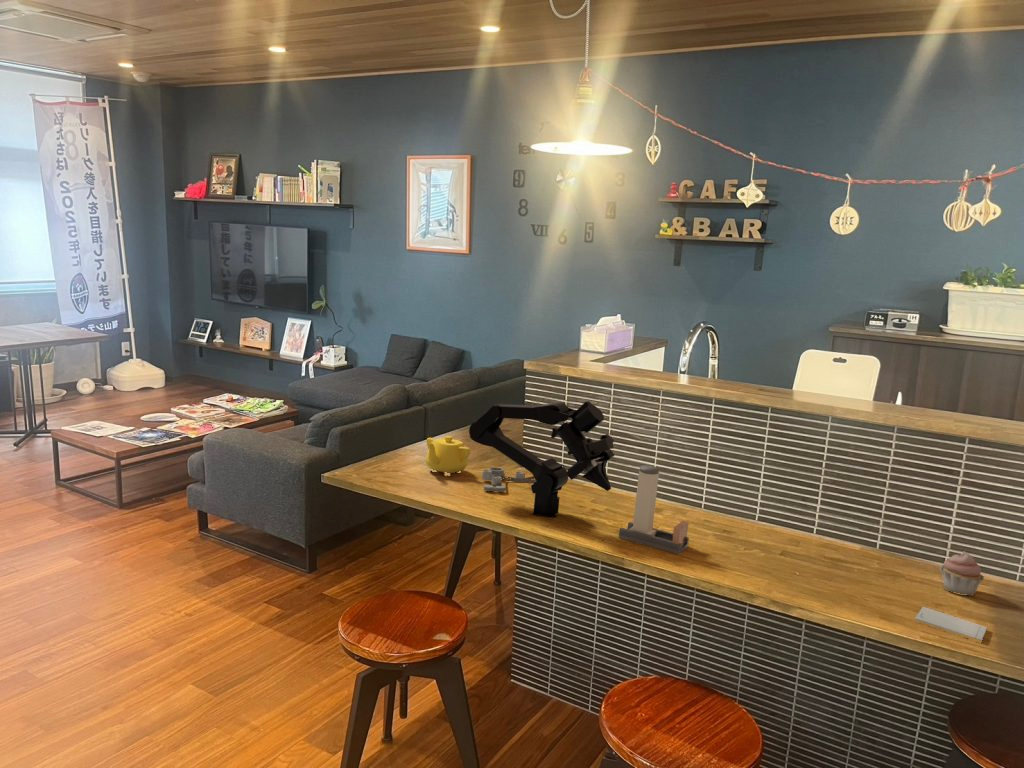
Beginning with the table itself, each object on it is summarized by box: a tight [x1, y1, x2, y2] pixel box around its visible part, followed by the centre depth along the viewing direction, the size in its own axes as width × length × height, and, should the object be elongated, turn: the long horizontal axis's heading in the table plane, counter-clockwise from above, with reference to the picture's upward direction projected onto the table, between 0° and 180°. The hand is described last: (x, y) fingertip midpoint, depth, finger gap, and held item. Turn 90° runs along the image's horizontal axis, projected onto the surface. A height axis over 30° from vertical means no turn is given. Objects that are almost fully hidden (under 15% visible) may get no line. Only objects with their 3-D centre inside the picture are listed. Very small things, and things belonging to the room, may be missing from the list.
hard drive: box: [914, 606, 988, 642], centre depth 160 cm, size 2×8×12 cm
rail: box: [617, 520, 690, 555], centre depth 195 cm, size 16×7×6 cm, turn 59°
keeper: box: [629, 464, 660, 536], centre depth 195 cm, size 6×5×18 cm
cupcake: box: [939, 550, 985, 595], centre depth 179 cm, size 9×9×10 cm
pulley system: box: [481, 467, 536, 493], centre depth 238 cm, size 27×5×15 cm
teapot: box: [425, 435, 471, 474], centre depth 243 cm, size 14×14×12 cm
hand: (609, 489), depth 200 cm, fingers closed
